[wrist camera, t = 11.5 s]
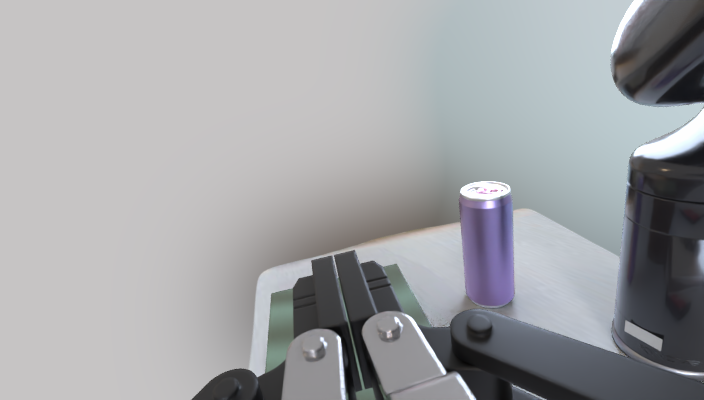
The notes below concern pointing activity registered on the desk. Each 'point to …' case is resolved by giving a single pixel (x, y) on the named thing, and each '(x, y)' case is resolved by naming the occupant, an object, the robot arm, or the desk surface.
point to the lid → (283, 316)
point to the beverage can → (487, 243)
